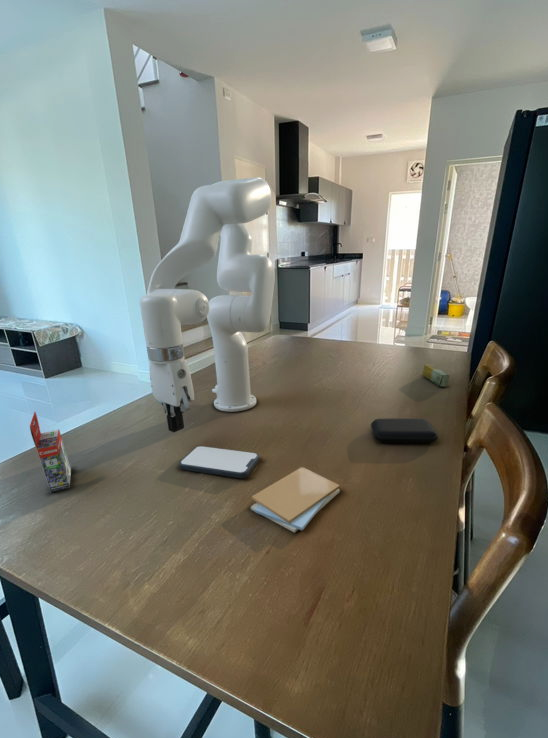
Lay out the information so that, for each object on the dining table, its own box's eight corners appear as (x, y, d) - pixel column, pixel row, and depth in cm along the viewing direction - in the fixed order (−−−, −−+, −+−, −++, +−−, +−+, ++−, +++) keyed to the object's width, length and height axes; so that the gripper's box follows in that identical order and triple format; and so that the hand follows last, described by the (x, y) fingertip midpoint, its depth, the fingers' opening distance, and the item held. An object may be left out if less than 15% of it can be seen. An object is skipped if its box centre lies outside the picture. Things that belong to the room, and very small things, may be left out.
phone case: (177, 470, 82) (245, 481, 77) (175, 464, 81) (244, 474, 76) (198, 450, 89) (261, 459, 84) (197, 444, 89) (261, 452, 84)
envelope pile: (245, 509, 69) (244, 501, 68) (296, 471, 79) (296, 464, 79) (297, 538, 62) (297, 529, 61) (346, 492, 72) (346, 484, 72)
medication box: (447, 387, 123) (450, 375, 121) (440, 387, 122) (442, 375, 121) (428, 374, 134) (430, 363, 132) (421, 374, 133) (423, 363, 132)
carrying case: (427, 425, 98) (368, 425, 99) (428, 414, 97) (369, 414, 98) (439, 445, 88) (375, 445, 89) (441, 433, 87) (375, 433, 88)
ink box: (71, 469, 83) (54, 407, 77) (70, 488, 76) (51, 422, 71) (52, 473, 82) (33, 411, 76) (49, 493, 75) (28, 426, 69)
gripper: (202, 354, 81) (210, 432, 87) (160, 345, 89) (171, 416, 96) (172, 362, 75) (183, 444, 82) (131, 351, 84) (144, 427, 91)
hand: (176, 429), depth 89 cm, fingers closed
